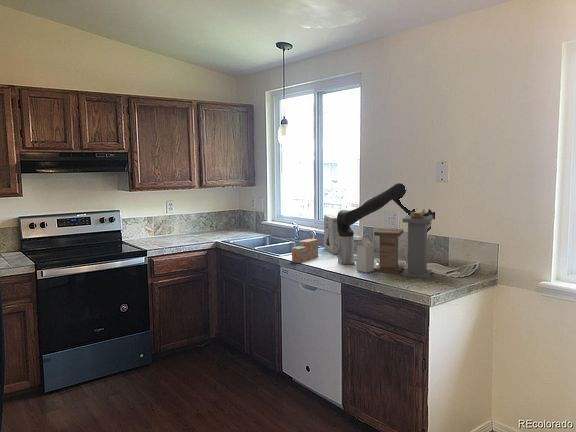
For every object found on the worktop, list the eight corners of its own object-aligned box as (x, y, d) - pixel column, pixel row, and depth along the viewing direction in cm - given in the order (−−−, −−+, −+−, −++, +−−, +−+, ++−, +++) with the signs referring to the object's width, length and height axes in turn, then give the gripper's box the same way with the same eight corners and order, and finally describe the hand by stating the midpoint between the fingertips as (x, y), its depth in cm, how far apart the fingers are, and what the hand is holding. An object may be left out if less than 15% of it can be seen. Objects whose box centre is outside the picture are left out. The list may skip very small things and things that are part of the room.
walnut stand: (398, 273, 262) (398, 233, 259) (374, 271, 267) (374, 232, 264) (403, 267, 274) (403, 229, 271) (379, 266, 280) (379, 228, 277)
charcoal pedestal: (428, 278, 249) (429, 219, 245) (402, 276, 255) (402, 218, 251) (431, 272, 262) (432, 216, 258) (406, 270, 268) (406, 215, 264)
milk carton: (356, 270, 270) (356, 238, 267) (364, 268, 274) (364, 237, 272) (366, 272, 264) (366, 240, 262) (374, 270, 269) (374, 238, 266)
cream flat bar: (422, 218, 249) (422, 213, 248) (410, 218, 251) (410, 213, 251) (427, 213, 270) (427, 208, 269) (417, 213, 272) (417, 208, 272)
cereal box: (324, 248, 338) (323, 214, 335) (334, 247, 340) (333, 214, 336) (332, 254, 317) (332, 218, 314) (343, 253, 318) (342, 217, 315)
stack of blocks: (299, 263, 293) (299, 244, 292) (291, 262, 297) (291, 243, 295) (318, 257, 310) (318, 238, 309) (310, 256, 314) (310, 238, 312)
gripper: (412, 215, 285) (409, 204, 271) (437, 215, 279) (434, 204, 265) (411, 226, 282) (408, 215, 268) (436, 227, 276) (433, 216, 263)
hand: (421, 210), depth 267 cm, fingers open, 8 cm apart
